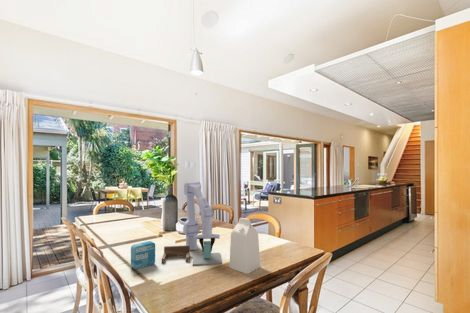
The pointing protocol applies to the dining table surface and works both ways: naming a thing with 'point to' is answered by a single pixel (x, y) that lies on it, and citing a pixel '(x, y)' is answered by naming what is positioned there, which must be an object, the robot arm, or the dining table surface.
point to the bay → (176, 252)
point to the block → (207, 249)
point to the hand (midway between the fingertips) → (207, 251)
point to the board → (206, 259)
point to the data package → (142, 254)
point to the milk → (244, 247)
